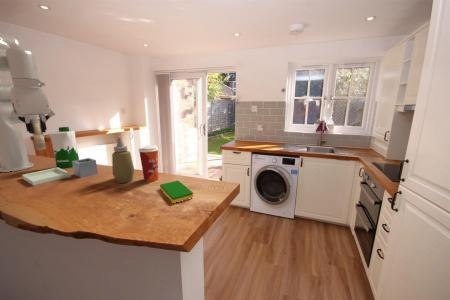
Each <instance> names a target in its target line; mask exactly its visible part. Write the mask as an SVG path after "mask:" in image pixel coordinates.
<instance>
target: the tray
mask: <svg viewBox="0 0 450 300" xmlns="http://www.w3.org/2000/svg"><path fill="white" fill-rule="evenodd" d="M21 176H22V179H23V180H24V181H26V182H27V183H28V184H30V185H31V186H32V187H37V186H39V185H44V184H48V183H53V182H55V181H61V180H63V179H68V178H71V177H72V176H71V172H70V171H67V170H65V169H64V168H58V167H57V166H56V167H52V168H48V169H44V170H39V171H34V172H29V173H25V174H24V173H23V174H22V175H21Z"/></svg>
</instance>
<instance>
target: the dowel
mask: <svg viewBox="0 0 450 300" xmlns="http://www.w3.org/2000/svg"><path fill="white" fill-rule="evenodd" d="M30 122H31V123H32V126H33V130H34V133H33V134H32V136H33V140H34V145H35V149H36V150H37V151H40V150H47V147H46V146H47V145H46V142H45V136H44V132H43V131H42V127H41V122H40V118H37V119H31V120H30Z"/></svg>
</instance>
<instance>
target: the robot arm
mask: <svg viewBox="0 0 450 300" xmlns="http://www.w3.org/2000/svg"><path fill="white" fill-rule="evenodd" d="M0 72H9V73H10V78H11V81H12V83H10V82H9V83H7V82H3V81H2V79H1V78H0V164H1V167H0V173H10V171H12V172H17V171H23V170H27V169H30V168H32V167H34V162H30V161H29V157H28V153H27V148H26V144H25V140H24V135H23V133H22V131H21V130H20V129H19V128H18V127H16V126H15V125H16V124H25V128H26V132H28V133H29V134H31V135H33V133H34V130H33V126H32V123H31V122H30V120H31V119H40V122H41V127H42V131H43V133H46V131H47V130H48V129H47V128H48V127H47V124H46V122H47V121H48V120H49V119H50V118H52V117H53V116H55V115H56V113H55V112H54V111H53V110H52V108H51V107H50V102H49V100H48V97H47V94H46V93H45V90H44V88H42V87H45V86H46V83H45V82H42V81H41V80H40V78H39V77H40V76H39V73H38V67H37V63H36V58H35V54H34V53H33V52H32V51H31V50H28V49H24V48H21V44H20V42H19V40H18V39H17V38H16V37H14V36H13V35H11V34H7V33H3V32H0ZM14 124H15V125H14Z"/></svg>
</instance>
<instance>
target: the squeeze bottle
mask: <svg viewBox="0 0 450 300" xmlns="http://www.w3.org/2000/svg"><path fill="white" fill-rule="evenodd" d="M113 150H114V152H113V153H112V154H111V157H112V158H111V159H112V162H111V163H112V176H113V177H114V180H115V181H116V183H118V184H123V183H124V184H125V183H129V182H131V181H133V178H134V175H135V166H134V163H133V159H132V158H133V157H132V154H131V152H130V151H129V150H128V146H127V145H125V144H124V142H123V139H122V137H117V141H116V146H114V147H113Z"/></svg>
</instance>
